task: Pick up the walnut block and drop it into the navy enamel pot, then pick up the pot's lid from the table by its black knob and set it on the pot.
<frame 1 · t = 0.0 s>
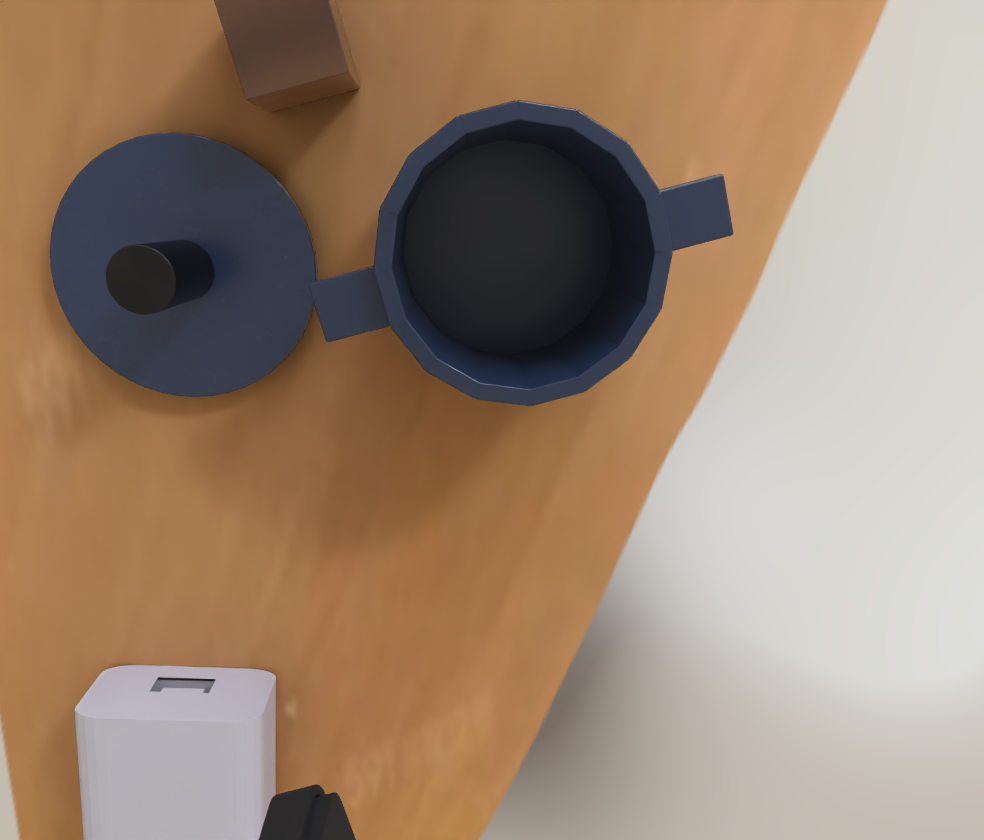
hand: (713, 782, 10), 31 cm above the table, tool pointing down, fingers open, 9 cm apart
charger: (198, 779, 46), on the table
pot: (507, 250, 39), on the table
pot lid: (187, 269, 38), point 1 cm above the table
block: (299, 50, 36), on the table
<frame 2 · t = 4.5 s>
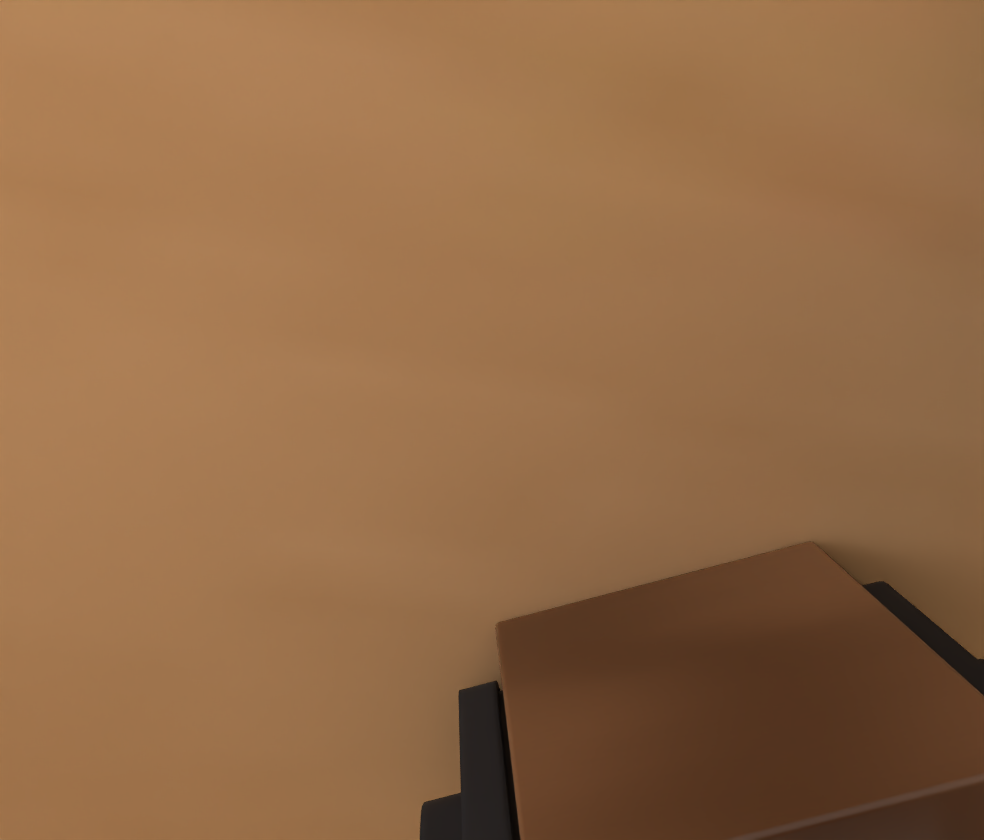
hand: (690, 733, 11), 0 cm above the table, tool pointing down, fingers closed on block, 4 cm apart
block: (683, 717, 11), on the table, touching gripper
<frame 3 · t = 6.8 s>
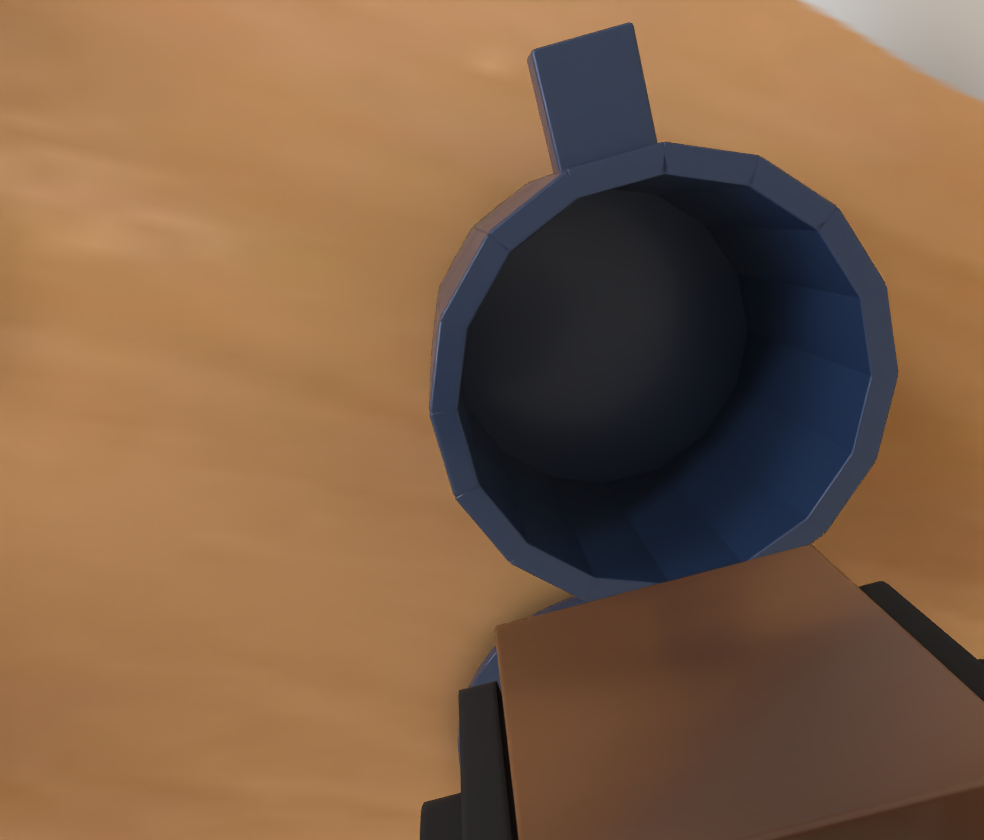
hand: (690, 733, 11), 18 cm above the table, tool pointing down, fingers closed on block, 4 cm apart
pot: (598, 339, 27), on the table
pot lid: (614, 731, 31), point 1 cm above the table
block: (682, 720, 11), point 17 cm above the table, touching gripper
when the fingers open (8 cm above the table, at t = 9.3 s): block drops 7 cm, resting on pot.
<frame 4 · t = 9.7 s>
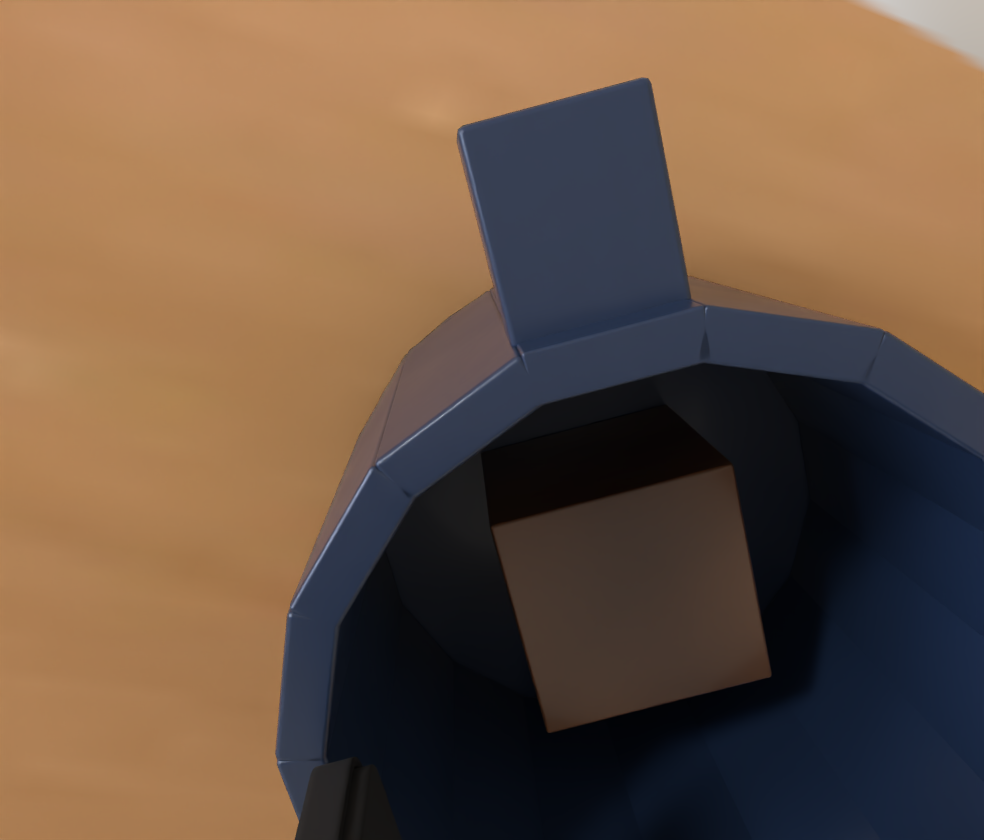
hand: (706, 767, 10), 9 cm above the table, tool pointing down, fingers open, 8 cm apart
pot: (592, 505, 19), on the table
block: (594, 514, 19), resting on pot
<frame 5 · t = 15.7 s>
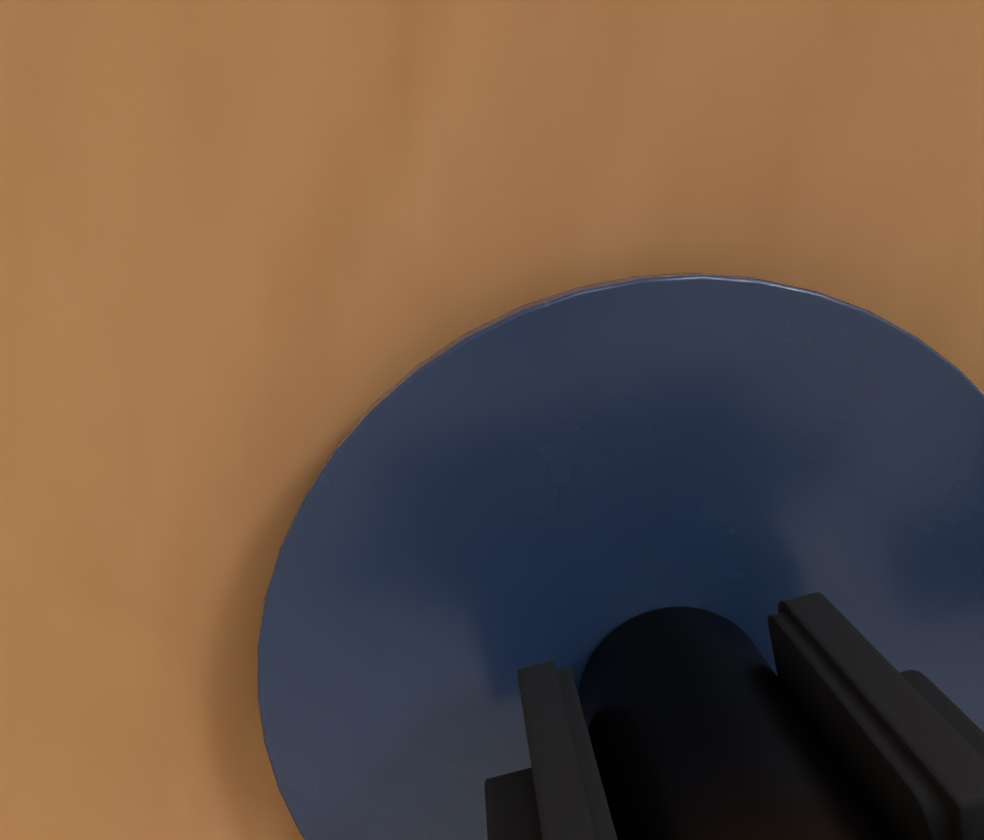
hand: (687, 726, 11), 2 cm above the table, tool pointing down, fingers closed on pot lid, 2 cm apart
pot lid: (661, 670, 12), point 1 cm above the table, touching gripper
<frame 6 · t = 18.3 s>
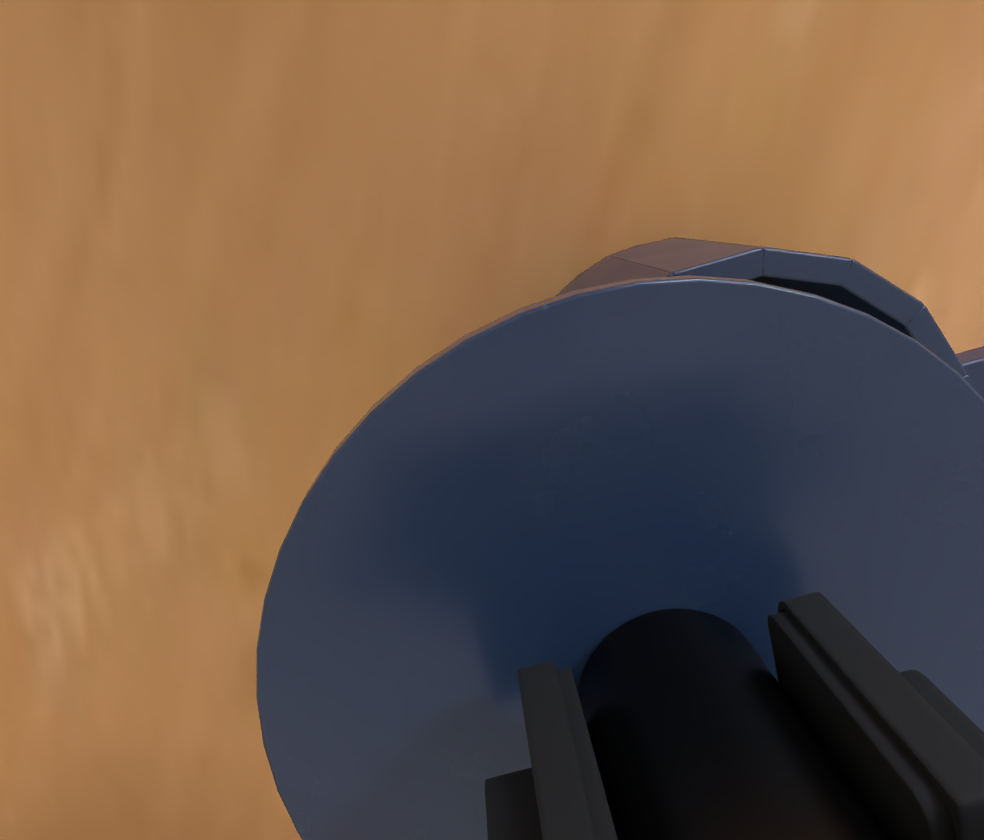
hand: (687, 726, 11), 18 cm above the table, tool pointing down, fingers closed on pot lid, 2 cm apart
pot: (670, 400, 29), on the table
pot lid: (660, 671, 12), point 17 cm above the table, touching gripper
when the fingers open (10 cm above the table, at t = 20.9 s): pot lid stays where it is, resting on pot.
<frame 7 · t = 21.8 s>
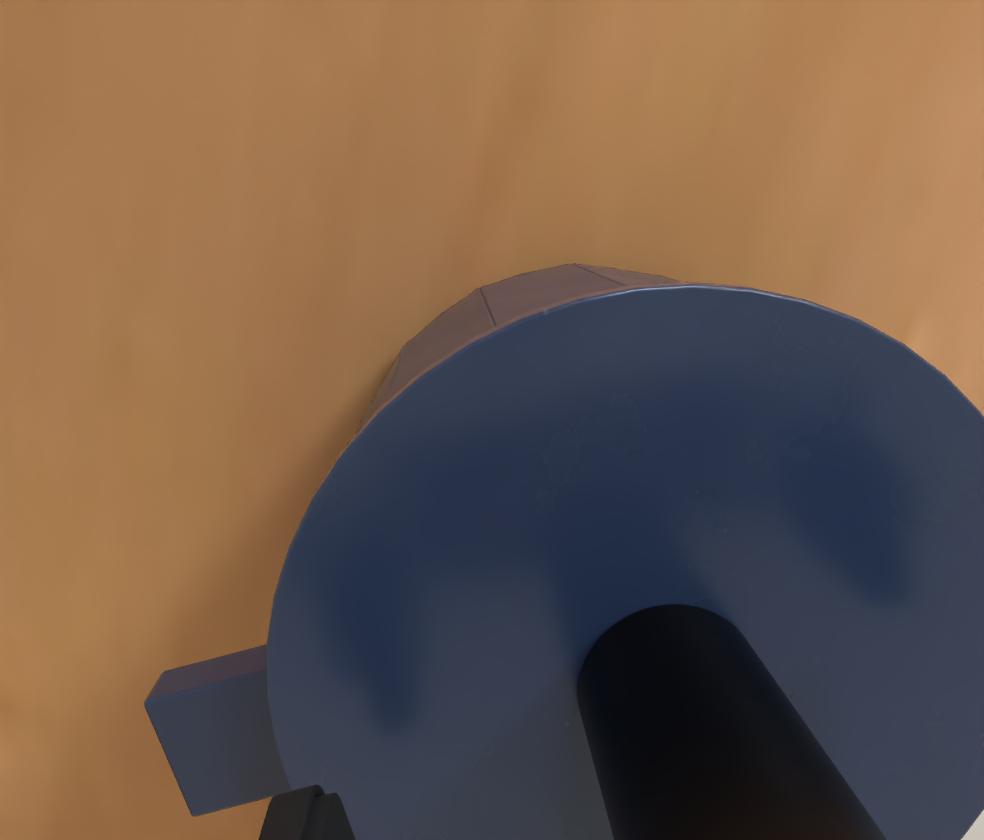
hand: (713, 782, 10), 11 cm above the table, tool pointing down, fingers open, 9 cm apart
pot: (574, 485, 21), on the table
pot lid: (658, 666, 13), point 8 cm above the table, touching pot
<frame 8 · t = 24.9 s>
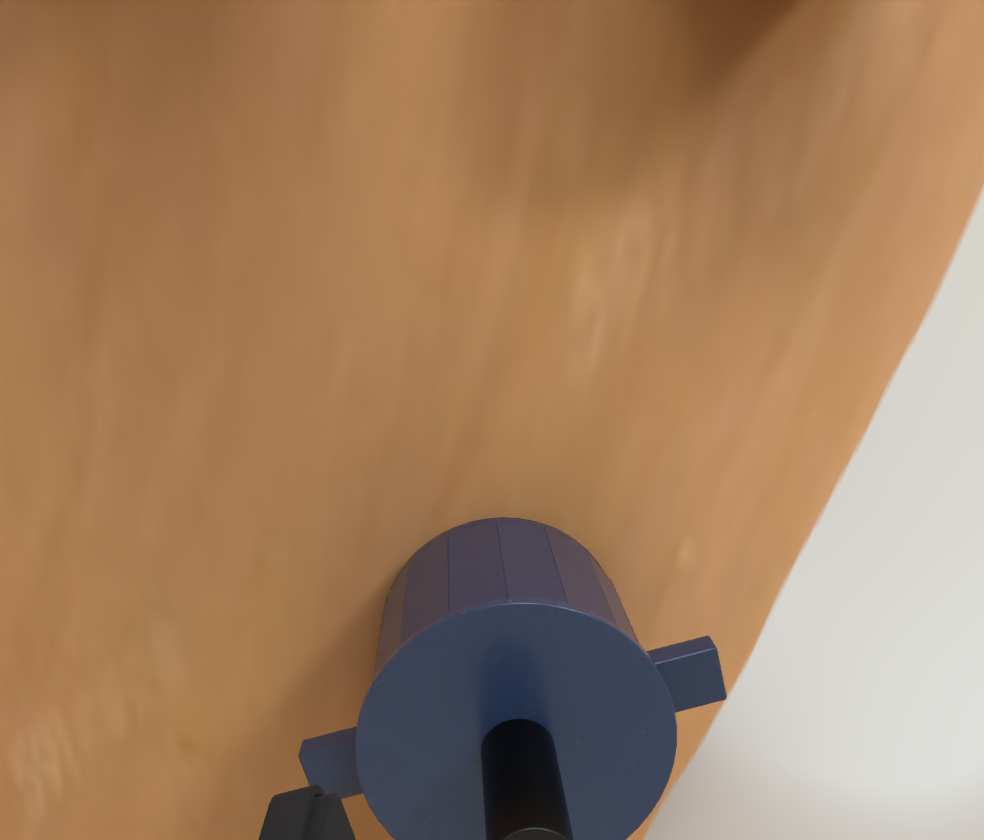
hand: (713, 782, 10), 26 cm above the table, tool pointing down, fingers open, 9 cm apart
pot: (501, 626, 38), on the table
pot lid: (516, 741, 30), point 8 cm above the table, touching pot
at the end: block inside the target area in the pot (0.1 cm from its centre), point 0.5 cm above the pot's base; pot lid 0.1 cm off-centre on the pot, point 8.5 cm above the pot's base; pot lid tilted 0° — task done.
